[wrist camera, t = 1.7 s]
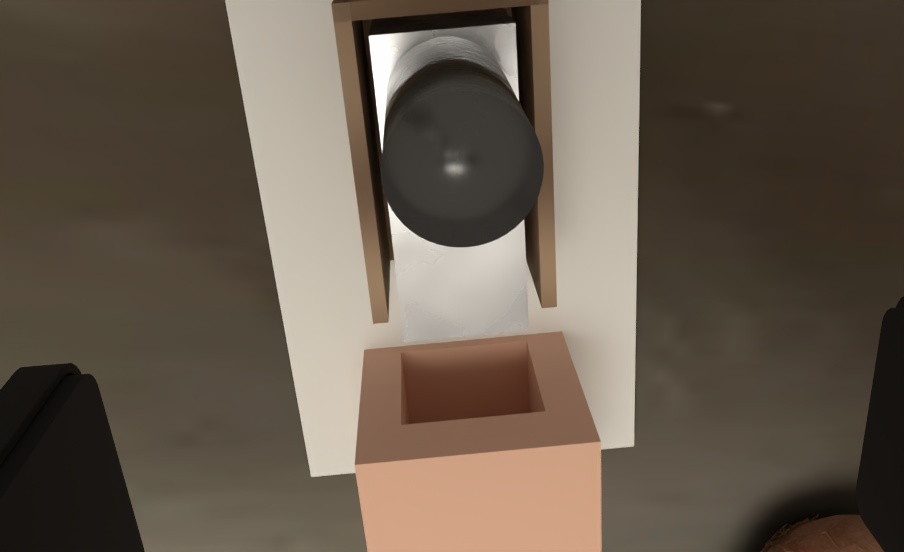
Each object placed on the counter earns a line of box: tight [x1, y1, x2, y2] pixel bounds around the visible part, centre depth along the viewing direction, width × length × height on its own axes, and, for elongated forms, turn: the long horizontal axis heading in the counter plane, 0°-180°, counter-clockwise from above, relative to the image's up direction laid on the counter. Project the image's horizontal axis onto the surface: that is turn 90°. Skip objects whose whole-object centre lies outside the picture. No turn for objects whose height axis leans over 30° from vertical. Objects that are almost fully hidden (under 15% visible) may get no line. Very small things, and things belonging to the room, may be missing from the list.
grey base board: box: [225, 0, 641, 477], centre depth 33 cm, size 20×14×1 cm
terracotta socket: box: [355, 331, 601, 552], centre depth 32 cm, size 5×8×8 cm, turn 94°
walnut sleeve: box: [331, 0, 557, 324], centre depth 28 cm, size 10×6×6 cm, turn 4°
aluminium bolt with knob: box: [369, 8, 544, 342], centre depth 25 cm, size 10×4×11 cm, turn 4°
